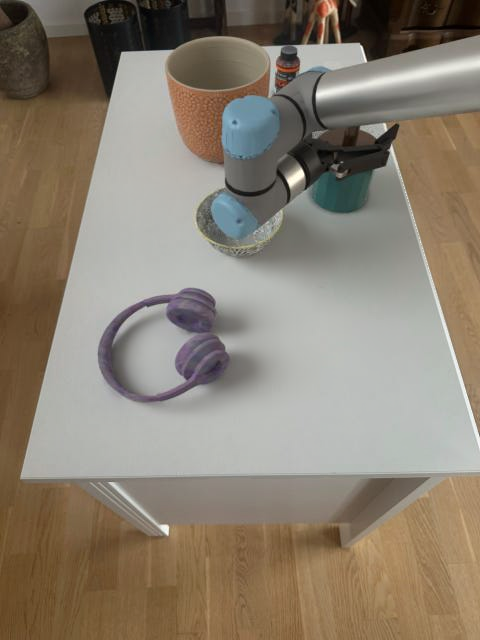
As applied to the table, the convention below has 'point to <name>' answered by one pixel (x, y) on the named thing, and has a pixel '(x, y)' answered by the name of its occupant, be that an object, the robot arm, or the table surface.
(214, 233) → the bowl
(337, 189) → the storage jar
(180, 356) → the headphones
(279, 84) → the supplement bottle
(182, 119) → the planter
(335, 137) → the jar lid
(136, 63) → the table surface
